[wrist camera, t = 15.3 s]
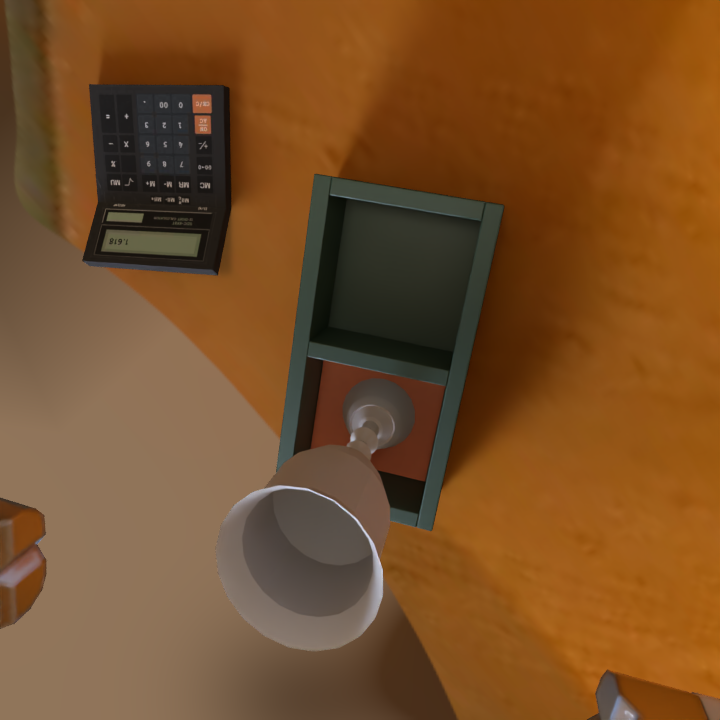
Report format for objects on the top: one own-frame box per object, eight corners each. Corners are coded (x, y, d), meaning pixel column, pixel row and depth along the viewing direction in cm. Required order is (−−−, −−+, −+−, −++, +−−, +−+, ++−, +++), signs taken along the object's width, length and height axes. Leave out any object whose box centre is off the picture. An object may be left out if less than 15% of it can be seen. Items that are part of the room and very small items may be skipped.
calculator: (229, 88, 37) (207, 78, 34) (231, 271, 40) (212, 276, 37) (97, 87, 39) (66, 77, 36) (110, 262, 42) (82, 267, 39)
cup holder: (501, 204, 35) (504, 204, 30) (438, 493, 41) (432, 532, 36) (336, 177, 37) (314, 173, 32) (297, 458, 43) (273, 491, 38)
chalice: (435, 460, 40) (397, 652, 23) (339, 466, 41) (237, 650, 24) (420, 356, 38) (367, 479, 21) (321, 367, 40) (197, 490, 23)
